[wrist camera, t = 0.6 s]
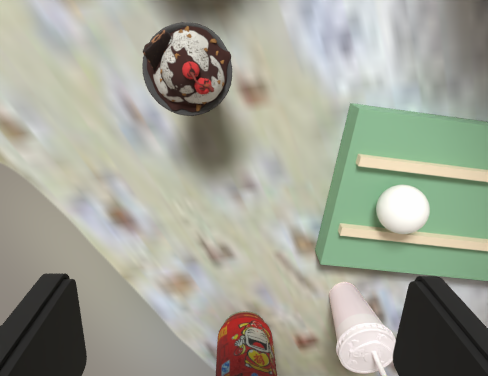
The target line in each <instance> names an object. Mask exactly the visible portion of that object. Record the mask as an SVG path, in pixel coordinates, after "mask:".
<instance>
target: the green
mask: <svg viewBox="0 0 488 376" xmlns="http://www.w3.org/2000/svg"><path fill="white" fill-rule="evenodd" d="M396 185H409V186H412V187H415V188H417V189H418V190H420V191H421V192H422V193H423V194H424V195H425V196H426V198H427V200H428V202H429V206H430V214H429V217H428V220H427V222H426V223H425V225H424V226H423V227H422V228H421V229H419V230H417V231H416V232H413V233H409V234H398V233H394V232H391V231H389V230H388V229H386V228H385V227H384V226H383V225H382V224H381V222H380V221H379V219H378V217H377V213H376V205H377V201H378V199H379V197H380V195H381V194H382V193H383V192H384V191H385V190H387V189H388V188H390V187H392V186H396ZM315 251H316V254H317V257H318V259H319V262H320V264H322V265H332V266H342V267H352V268H362V269H372V270H382V271H392V272H402V273H412V274H422V275H432V276H442V277H452V278H462V279H472V280H482V281H488V122H485V121H477V120H470V119H463V118H455V117H448V116H440V115H433V114H426V113H418V112H411V111H404V110H396V109H389V108H381V107H374V106H367V105H359V104H352V103H350V107H349V111H348V115H347V120H346V124H345V128H344V132H343V136H342V140H341V145H340V149H339V153H338V157H337V161H336V165H335V170H334V174H333V178H332V182H331V186H330V190H329V195H328V199H327V203H326V207H325V211H324V215H323V220H322V224H321V228H320V232H319V236H318V240H317V245H316V249H315Z"/></svg>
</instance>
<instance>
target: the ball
mask: <svg viewBox="0 0 488 376" xmlns="http://www.w3.org/2000/svg"><path fill="white" fill-rule="evenodd" d="M376 213H377V217H378V219H379V221H380V222H381V224H382V225H383V226H384V227H385V228H386V229H388V230H389V231H391V232H394V233H398V234H409V233H413V232H416V231H417V230H419V229H421V228H422V227H423V226H424V225H425V223H426V222H427V220H428V217H429V214H430V206H429V202H428V200H427V198H426V196H425V195H424V194H423V193H422V192H421V191H420V190H418V189H417V188H415V187H412V186H409V185H396V186H392V187H390V188H388V189H387V190H385V191H384V192H383V193H382V194H381V195H380V197H379V199H378V201H377V205H376Z"/></svg>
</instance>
